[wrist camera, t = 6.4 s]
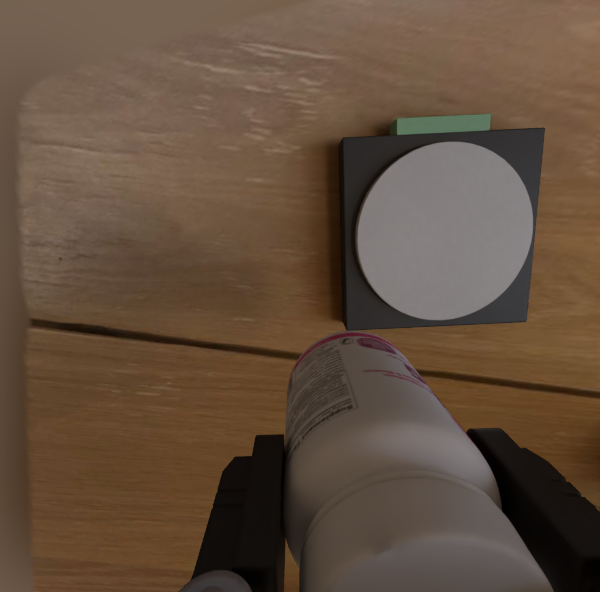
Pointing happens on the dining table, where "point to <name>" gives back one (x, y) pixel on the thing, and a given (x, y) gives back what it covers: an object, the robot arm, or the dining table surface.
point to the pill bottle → (389, 482)
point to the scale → (438, 223)
